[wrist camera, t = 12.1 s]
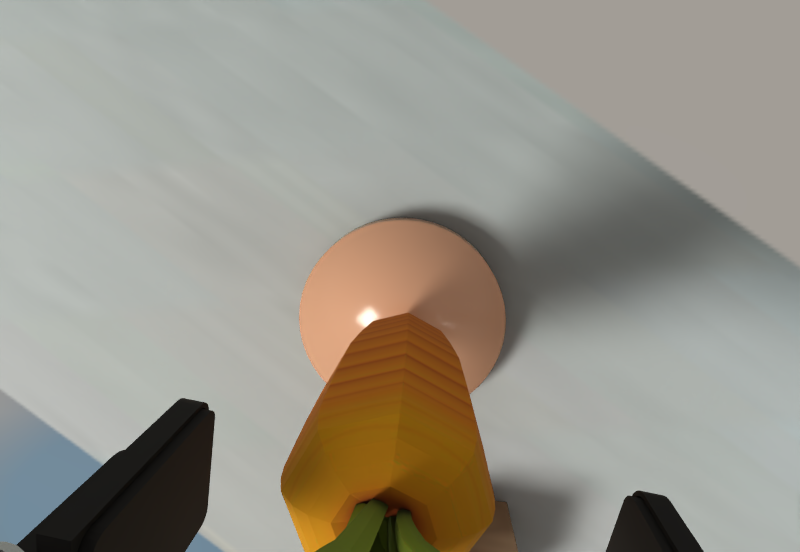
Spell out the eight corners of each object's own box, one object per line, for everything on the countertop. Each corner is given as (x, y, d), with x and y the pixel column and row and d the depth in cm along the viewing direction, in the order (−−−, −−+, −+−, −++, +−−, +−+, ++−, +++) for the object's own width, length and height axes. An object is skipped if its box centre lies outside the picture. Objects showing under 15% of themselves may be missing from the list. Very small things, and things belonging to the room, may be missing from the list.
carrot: (355, 263, 20) (170, 574, 5) (472, 279, 20) (597, 637, 5) (344, 369, 21) (172, 842, 7) (453, 384, 21) (513, 896, 7)
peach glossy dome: (522, 237, 21) (528, 242, 19) (477, 418, 23) (480, 432, 22) (318, 200, 21) (312, 203, 19) (295, 384, 23) (288, 396, 22)
